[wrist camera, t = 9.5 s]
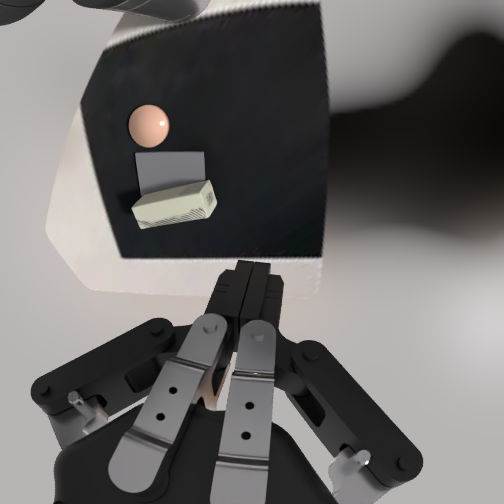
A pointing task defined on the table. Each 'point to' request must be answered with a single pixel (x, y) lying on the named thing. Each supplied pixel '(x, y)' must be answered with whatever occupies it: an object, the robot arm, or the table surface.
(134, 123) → the glossy peach dome
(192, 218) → the box
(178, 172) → the mat
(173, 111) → the table surface
